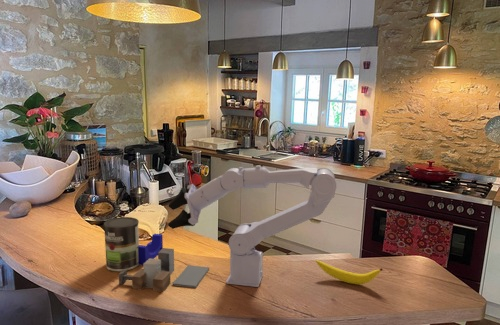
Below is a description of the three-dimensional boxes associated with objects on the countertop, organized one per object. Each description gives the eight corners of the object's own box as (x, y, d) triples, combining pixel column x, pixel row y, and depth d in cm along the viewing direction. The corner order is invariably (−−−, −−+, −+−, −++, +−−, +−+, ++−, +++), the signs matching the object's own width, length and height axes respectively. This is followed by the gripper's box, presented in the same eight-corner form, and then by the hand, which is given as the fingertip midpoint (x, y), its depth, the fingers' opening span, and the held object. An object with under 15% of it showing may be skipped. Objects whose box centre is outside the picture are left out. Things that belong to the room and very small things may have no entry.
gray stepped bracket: (174, 270, 112) (173, 249, 111) (163, 281, 105) (163, 259, 104) (163, 269, 113) (163, 247, 112) (152, 280, 106) (151, 257, 105)
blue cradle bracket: (151, 249, 128) (150, 233, 127) (162, 250, 127) (162, 234, 126) (133, 264, 117) (132, 246, 116) (145, 265, 116) (145, 247, 115)
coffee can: (127, 273, 110) (124, 229, 107) (98, 268, 113) (96, 225, 111) (146, 260, 119) (145, 218, 117) (120, 255, 123) (118, 215, 120)
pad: (209, 269, 113) (209, 267, 113) (195, 288, 102) (195, 286, 102) (188, 266, 115) (188, 265, 115) (172, 285, 103) (172, 283, 103)
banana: (316, 273, 111) (316, 253, 110) (381, 287, 103) (383, 266, 102) (313, 277, 109) (314, 257, 108) (380, 292, 101) (382, 270, 100)
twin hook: (175, 267, 114) (174, 246, 113) (155, 288, 101) (155, 264, 100) (154, 265, 116) (153, 244, 114) (132, 285, 103) (131, 262, 102)
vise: (170, 283, 104) (170, 271, 104) (162, 292, 99) (162, 280, 99) (126, 278, 107) (126, 266, 106) (117, 286, 102) (116, 274, 102)
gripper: (197, 170, 108) (162, 192, 112) (199, 205, 97) (160, 228, 101) (211, 183, 113) (177, 204, 116) (215, 218, 101) (177, 240, 105)
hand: (170, 216), depth 109 cm, fingers open, 7 cm apart
